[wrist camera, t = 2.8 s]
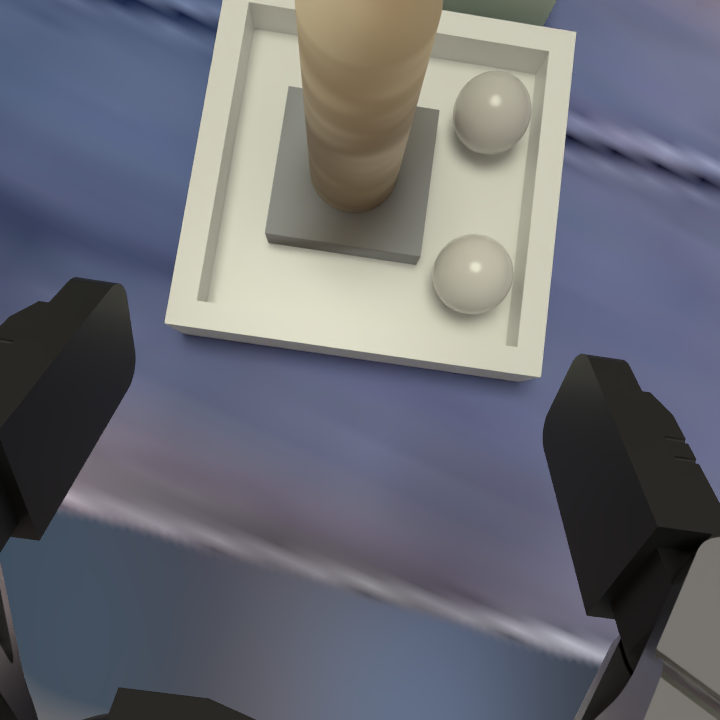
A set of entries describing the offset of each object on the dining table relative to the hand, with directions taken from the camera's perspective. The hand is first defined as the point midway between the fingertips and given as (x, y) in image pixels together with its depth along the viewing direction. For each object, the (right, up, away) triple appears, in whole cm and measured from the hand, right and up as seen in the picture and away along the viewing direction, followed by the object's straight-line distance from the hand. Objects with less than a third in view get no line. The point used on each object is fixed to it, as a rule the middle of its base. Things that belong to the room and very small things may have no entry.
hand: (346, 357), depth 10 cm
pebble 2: (+4, +3, +11) cm, 12 cm away
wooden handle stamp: (0, +7, +13) cm, 15 cm away
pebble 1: (+5, +10, +12) cm, 16 cm away
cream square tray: (+1, +7, +14) cm, 15 cm away
